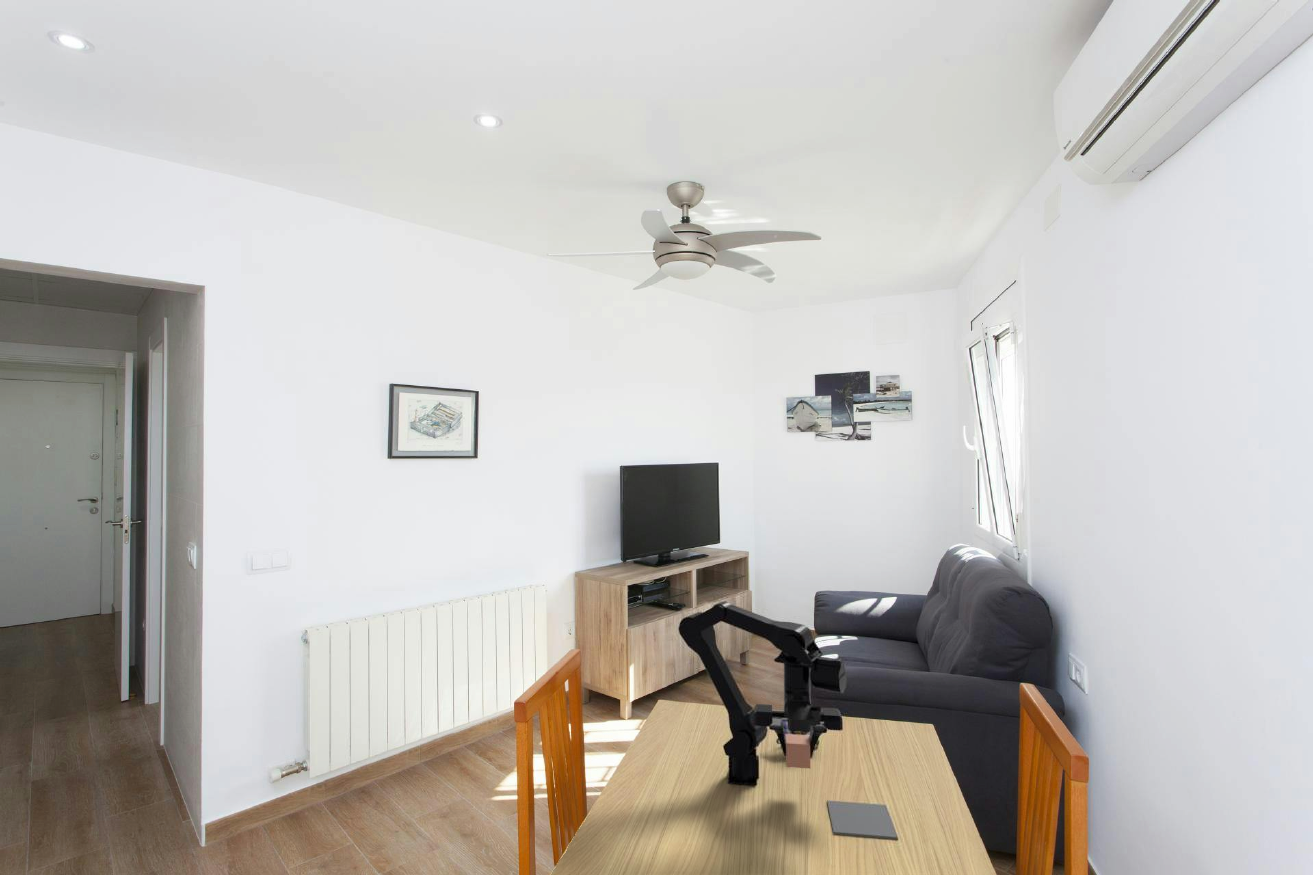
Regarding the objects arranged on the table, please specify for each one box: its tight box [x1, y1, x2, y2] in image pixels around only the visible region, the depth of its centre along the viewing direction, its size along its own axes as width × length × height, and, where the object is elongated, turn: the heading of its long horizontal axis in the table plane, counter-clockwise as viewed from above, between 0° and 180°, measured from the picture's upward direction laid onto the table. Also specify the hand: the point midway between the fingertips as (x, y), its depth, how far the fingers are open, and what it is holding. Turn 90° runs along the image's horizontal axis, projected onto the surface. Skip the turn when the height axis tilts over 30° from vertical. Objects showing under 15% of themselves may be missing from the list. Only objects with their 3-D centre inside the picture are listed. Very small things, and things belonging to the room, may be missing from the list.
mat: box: [826, 799, 899, 840], centre depth 133 cm, size 12×12×1 cm
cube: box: [785, 734, 811, 769], centre depth 144 cm, size 5×5×5 cm
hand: (797, 756), depth 144 cm, fingers closed on cube, 5 cm apart
